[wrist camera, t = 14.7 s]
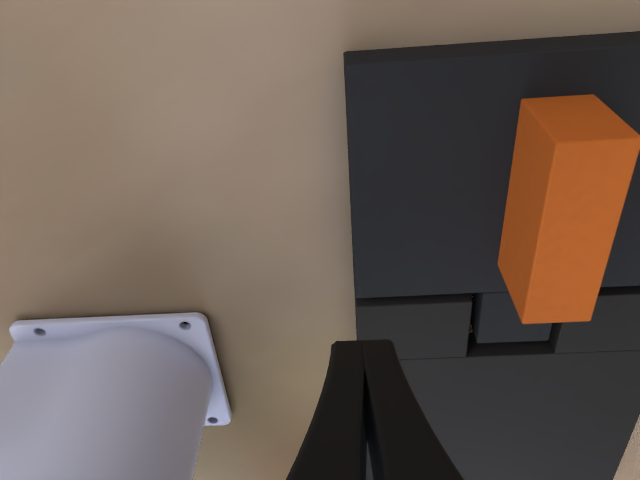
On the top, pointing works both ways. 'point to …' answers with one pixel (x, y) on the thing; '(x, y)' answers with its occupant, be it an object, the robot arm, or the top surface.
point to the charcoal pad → (497, 176)
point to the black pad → (518, 385)
